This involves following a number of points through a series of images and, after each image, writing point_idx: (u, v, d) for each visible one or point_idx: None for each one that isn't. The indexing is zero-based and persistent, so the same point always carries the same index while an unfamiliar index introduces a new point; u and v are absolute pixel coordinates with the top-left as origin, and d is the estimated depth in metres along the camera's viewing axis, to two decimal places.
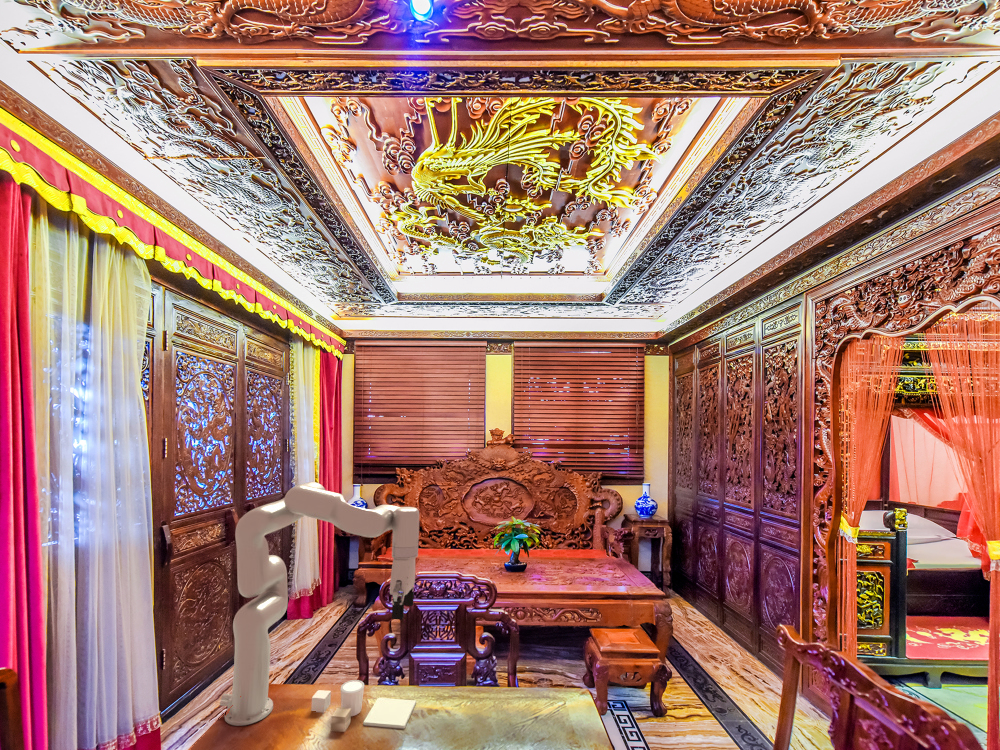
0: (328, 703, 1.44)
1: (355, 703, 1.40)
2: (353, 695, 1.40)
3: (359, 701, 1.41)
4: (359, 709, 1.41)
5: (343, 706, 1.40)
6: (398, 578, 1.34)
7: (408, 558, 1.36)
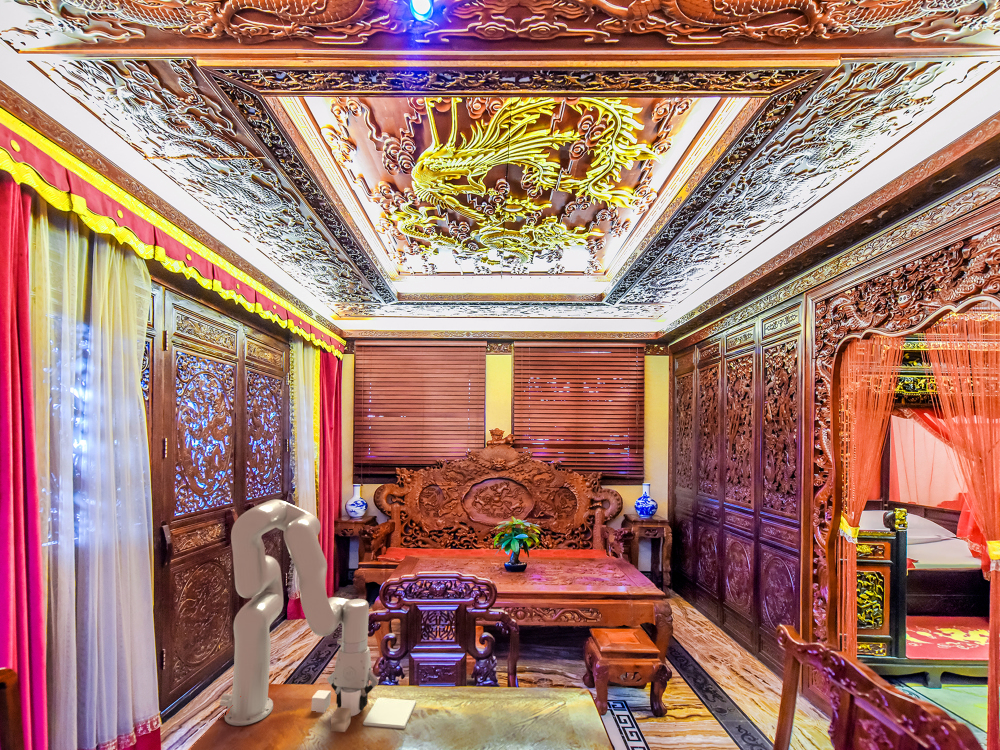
0: (328, 703, 1.44)
1: (355, 703, 1.40)
2: (353, 695, 1.40)
3: (359, 701, 1.41)
4: (359, 709, 1.41)
5: (343, 706, 1.40)
6: (369, 667, 1.42)
7: None
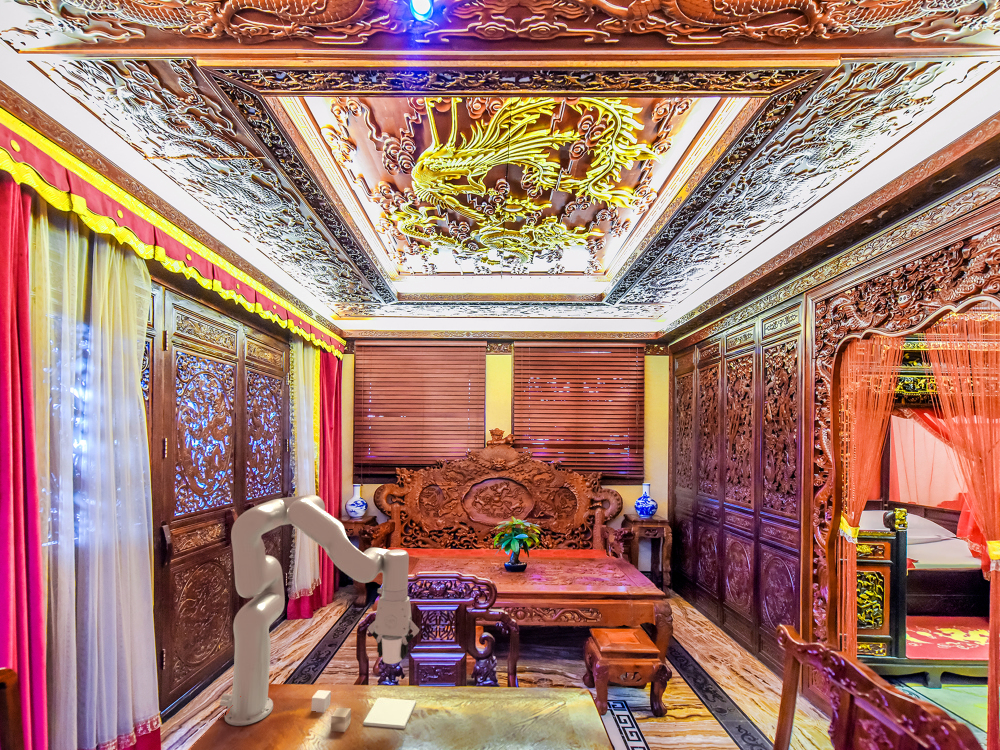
0: (328, 703, 1.44)
1: (397, 651, 1.40)
2: (395, 643, 1.40)
3: (400, 649, 1.41)
4: (400, 657, 1.41)
5: (385, 654, 1.40)
6: (410, 615, 1.43)
7: None
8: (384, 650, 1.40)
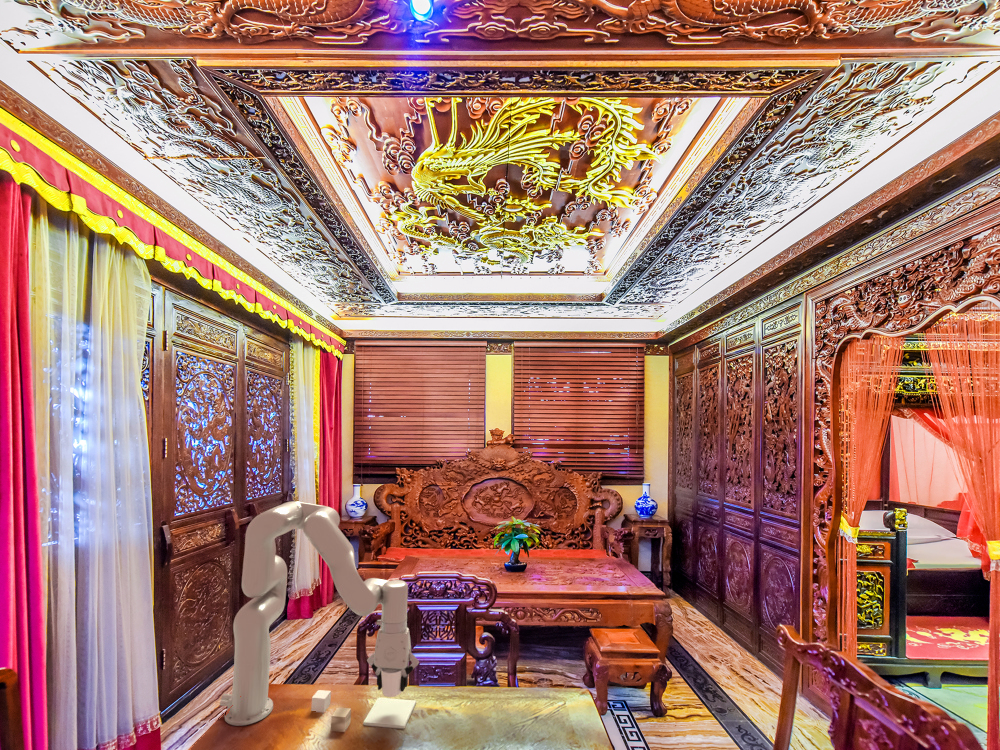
0: (328, 703, 1.44)
1: (396, 683, 1.39)
2: (394, 675, 1.39)
3: (400, 681, 1.40)
4: (400, 690, 1.40)
5: (384, 687, 1.39)
6: (409, 647, 1.42)
7: None
8: (384, 683, 1.39)
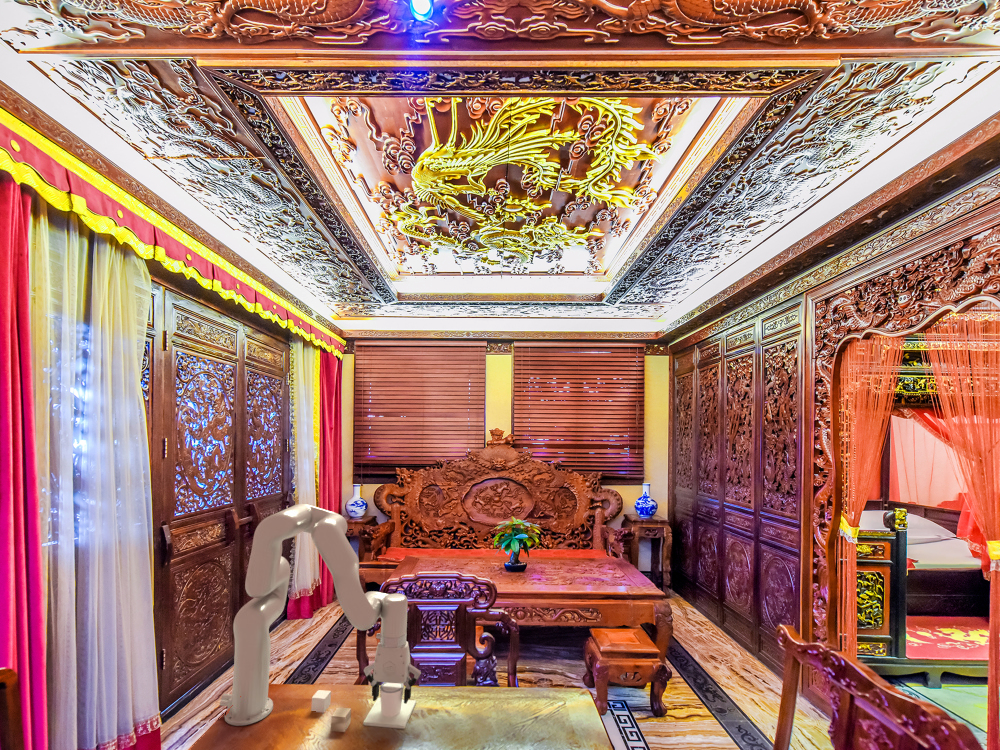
0: (328, 703, 1.44)
1: (395, 703, 1.39)
2: (393, 695, 1.38)
3: (399, 701, 1.40)
4: (399, 710, 1.40)
5: (383, 706, 1.39)
6: (409, 661, 1.41)
7: None
8: (382, 703, 1.39)
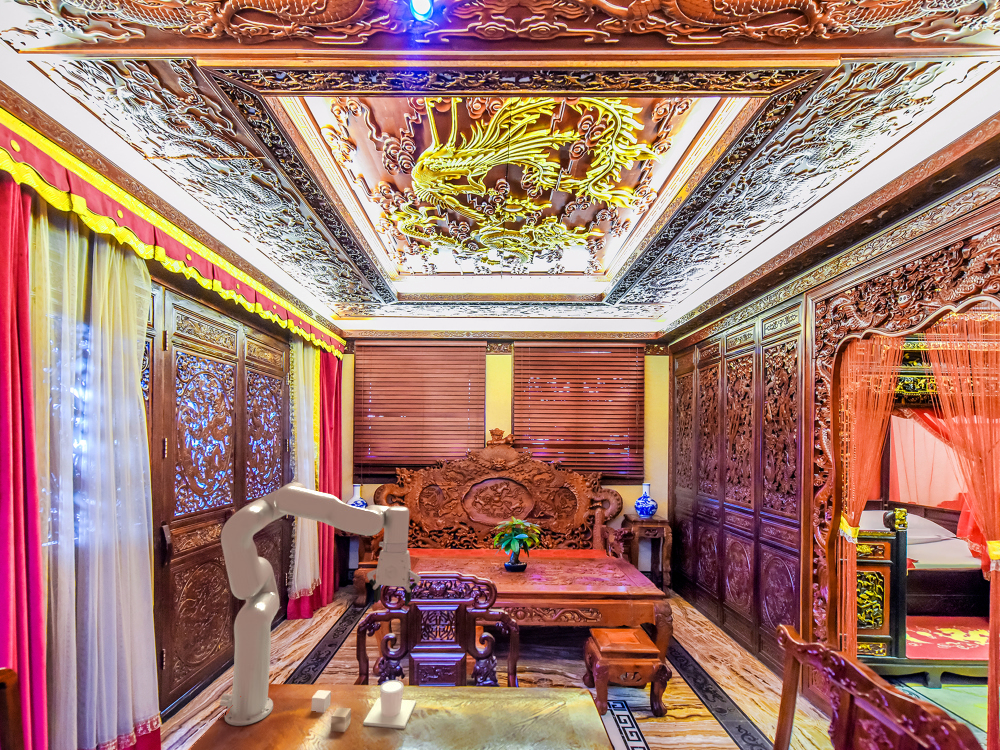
0: (328, 703, 1.44)
1: (395, 703, 1.39)
2: (393, 695, 1.38)
3: (399, 701, 1.40)
4: (399, 710, 1.40)
5: (383, 706, 1.39)
6: (409, 568, 1.51)
7: None
8: (382, 703, 1.39)
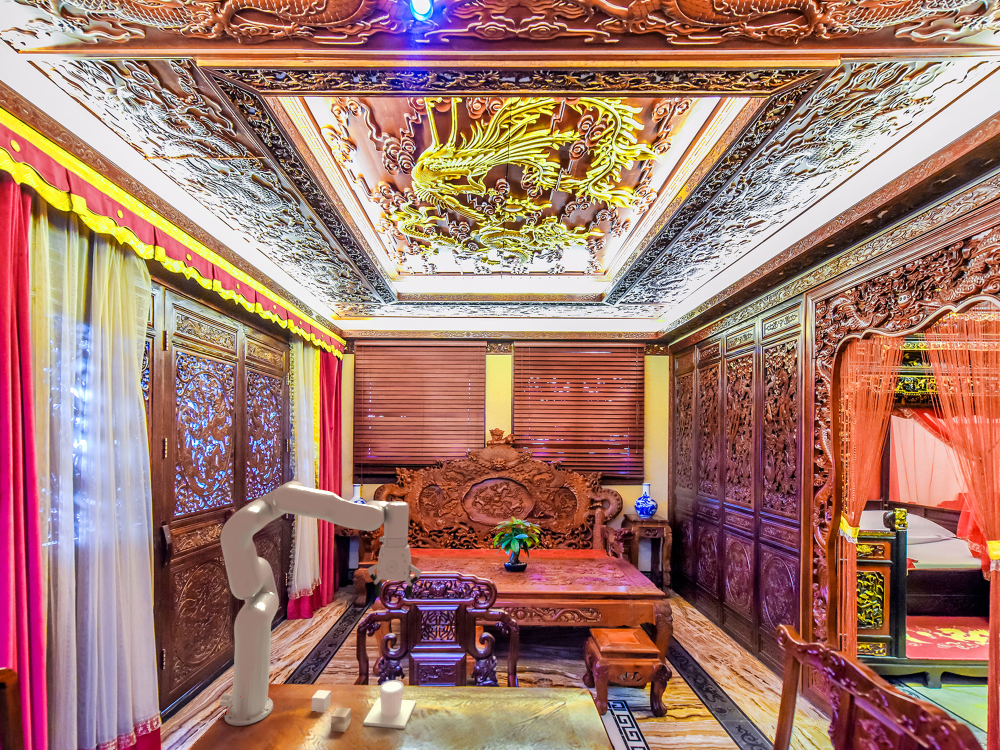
0: (328, 703, 1.44)
1: (395, 703, 1.39)
2: (393, 695, 1.38)
3: (399, 701, 1.40)
4: (399, 710, 1.40)
5: (383, 706, 1.39)
6: (410, 562, 1.52)
7: None
8: (382, 703, 1.39)
